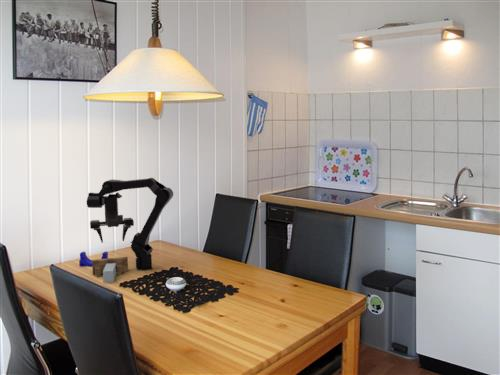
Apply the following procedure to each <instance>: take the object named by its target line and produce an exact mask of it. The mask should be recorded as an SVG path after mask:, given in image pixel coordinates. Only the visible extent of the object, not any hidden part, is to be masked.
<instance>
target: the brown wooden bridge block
mask: <svg viewBox="0 0 500 375" xmlns="http://www.w3.org/2000/svg"><path fill="white" fill-rule="evenodd" d="M128 259H129V258H128V256H120V257H119V256H118V257H110V258H109V257H108V258H107V259H101V258H98V259H91V260H92V266H91V268H92V275H95V278H98V277H99V278H100V277H102V276H101V275H103V270H104V268H105V266H106V264H109V263H116V276H117V275H118V276H119V275H123V272H129V260H128Z"/></svg>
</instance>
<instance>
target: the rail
mask: <svg viewBox="0 0 500 375" xmlns="http://www.w3.org/2000/svg"><path fill="white" fill-rule="evenodd" d="M116 276H117V272H116V263H109V264H106V266H105V268H104V270H103V274H102V278H103V284H105V283H106V284H107V283H114V282H115V278H116Z"/></svg>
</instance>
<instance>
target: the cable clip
mask: <svg viewBox="0 0 500 375" xmlns="http://www.w3.org/2000/svg"><path fill="white" fill-rule="evenodd" d="M107 258H109V252H108V251H104V252H102V256H101V258H100V259H107ZM92 260H93V259H90V258H89V257H88V256H87V254H86V251H81V252H80V253H79V261H78V262H79V263H78V265H79V267H92Z"/></svg>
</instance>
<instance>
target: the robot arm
mask: <svg viewBox="0 0 500 375" xmlns="http://www.w3.org/2000/svg"><path fill="white" fill-rule="evenodd" d="M142 188H148V189H149V191H151V192H152V193H153V194H154V195H155V196H156V197H155V201H154V205H153V208H152V209H151V212H150V214H149V216H148V217H147V220H146V222H145V223H144V225H143V228H142V229H141V232H139V231H138V232H137V233H135V234H134V236H133V237H132V241H131V242H130V244H131V245H130V248H131V251H132V252H133V253H134V255H135V268H136V269H137V271H144V270H153V269H154V268H153V266H152V265H153V264H152V263H153V262H152V260H153V259H152V253H153V247H152V246H151V245H150V244H149V241H150V237H151V233H152V232H153V230H154V227H155V225H156V224H157V221H158V220H159V217H160V216H161V213H162V212H163V210H164V209H165V207H166V206H167V205H168V204H169V203H170V201H171V200H172V199H173V197H174V191H173V190H172V189H171V187H167V186H165V185H164V184H162V183H160V182H159V181H158V180H156V179H155V178H154V177H149V178H141V179H140V178H139V179H131V180H122V179H121V180H120V179H109V180H106V181H104V182H103V183H102V184H101V189H100V190H99V191H98V192H88V194H87V195H88V196H87V198H86V207H87V208H90V209H95V208H97V209H99V208H103V206H104V219H105V220H104V221H100V219H95V220H94V219H92V220H90V221H89V228H90V229H91V230H93V231H96V232H97V234H98V236H99V239H100V241H101V244H102V243H103V242H104V240H103V234H102V229H101V227H103V226H104V227H105V226H107V227H108V228H113V227H116V228H118V227H119V226H120V225H122V236H121V238H122V242H124V241H125V238H126V235H127V231H128V230H129V228H132V227H133V226H135V224H134V223H135V222H134V219H133V218H132V217H125V218H124V215H123V214H119V205H118V204H119V203H118V199H121V198H122V197H123V195H121V194H120V193H119V192H120V191H124V190H132V189H133V190H134V189H142Z"/></svg>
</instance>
